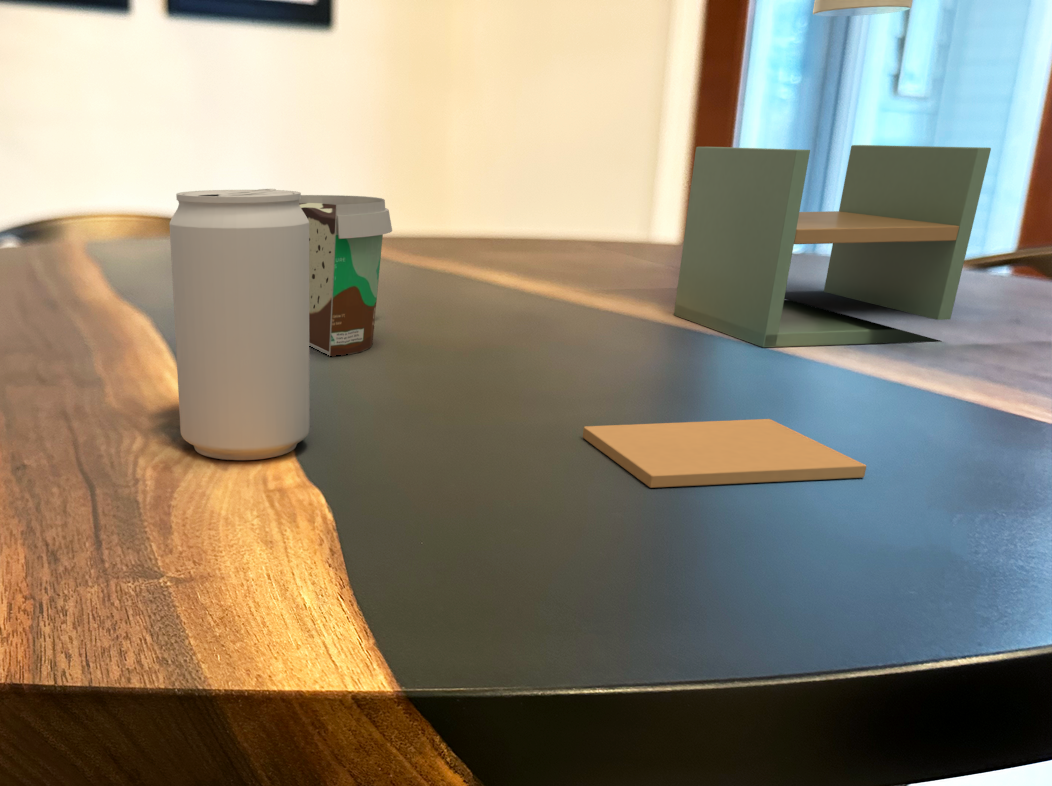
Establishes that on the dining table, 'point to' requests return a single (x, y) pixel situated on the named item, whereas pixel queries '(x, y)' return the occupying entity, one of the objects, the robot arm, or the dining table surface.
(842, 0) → the cream cylinder
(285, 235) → the beverage can
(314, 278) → the food container
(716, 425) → the mat
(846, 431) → the dining table surface
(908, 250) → the rack
